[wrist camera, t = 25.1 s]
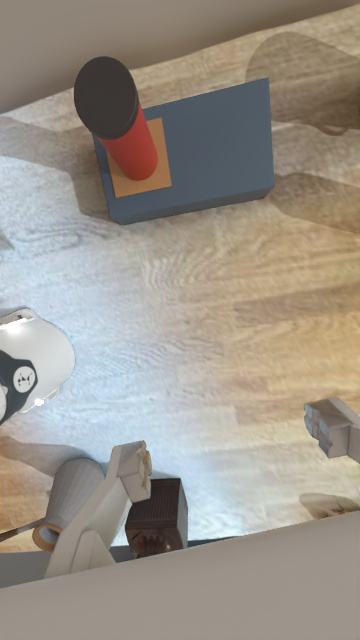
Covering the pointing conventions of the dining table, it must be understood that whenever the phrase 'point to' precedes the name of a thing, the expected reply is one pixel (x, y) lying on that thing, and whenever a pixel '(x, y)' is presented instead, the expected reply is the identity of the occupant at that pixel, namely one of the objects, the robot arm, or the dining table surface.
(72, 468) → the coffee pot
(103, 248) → the dining table surface
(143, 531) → the manual coffee grinder
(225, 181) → the platform
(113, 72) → the red canister
